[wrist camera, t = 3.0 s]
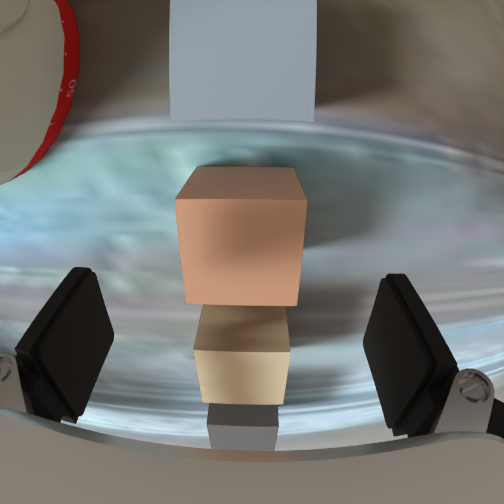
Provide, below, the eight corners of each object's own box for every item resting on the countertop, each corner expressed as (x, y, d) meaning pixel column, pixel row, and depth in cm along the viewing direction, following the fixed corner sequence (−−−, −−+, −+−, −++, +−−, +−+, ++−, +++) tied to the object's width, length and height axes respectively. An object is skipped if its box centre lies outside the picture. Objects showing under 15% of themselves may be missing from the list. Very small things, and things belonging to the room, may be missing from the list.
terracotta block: (293, 167, 16) (307, 200, 12) (288, 251, 19) (296, 306, 14) (197, 166, 16) (174, 199, 12) (202, 249, 19) (186, 303, 14)
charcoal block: (276, 373, 24) (278, 426, 20) (272, 406, 27) (273, 453, 22) (213, 371, 24) (206, 424, 20) (217, 404, 27) (212, 451, 22)
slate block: (298, 17, 12) (316, -10, 8) (296, 110, 15) (313, 121, 10) (196, 17, 12) (170, -8, 8) (196, 110, 15) (170, 121, 10)
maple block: (284, 294, 20) (290, 352, 16) (279, 348, 23) (282, 404, 18) (205, 292, 20) (193, 349, 16) (210, 346, 23) (202, 402, 18)
